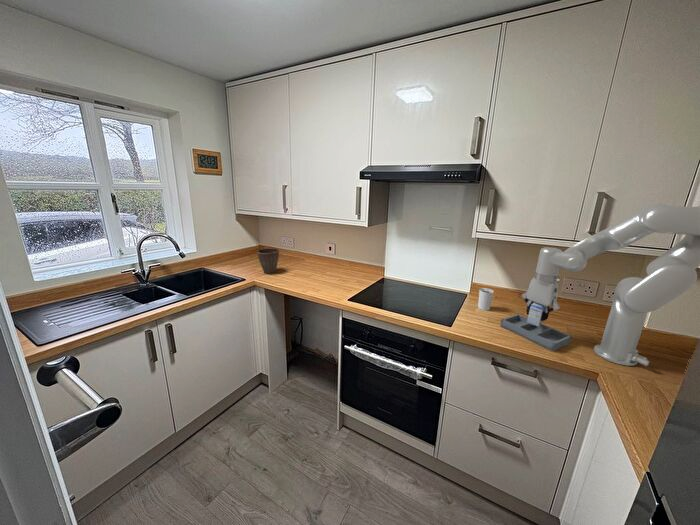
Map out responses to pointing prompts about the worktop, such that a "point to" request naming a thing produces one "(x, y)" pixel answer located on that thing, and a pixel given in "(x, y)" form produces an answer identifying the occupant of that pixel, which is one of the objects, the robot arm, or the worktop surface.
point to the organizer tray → (536, 332)
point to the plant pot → (268, 259)
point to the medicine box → (535, 314)
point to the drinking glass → (485, 298)
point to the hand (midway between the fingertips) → (536, 316)
